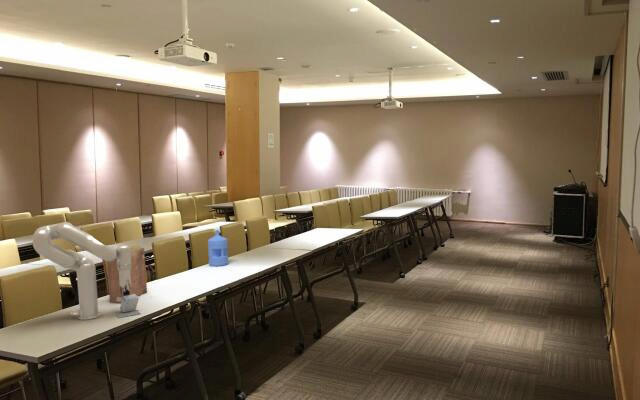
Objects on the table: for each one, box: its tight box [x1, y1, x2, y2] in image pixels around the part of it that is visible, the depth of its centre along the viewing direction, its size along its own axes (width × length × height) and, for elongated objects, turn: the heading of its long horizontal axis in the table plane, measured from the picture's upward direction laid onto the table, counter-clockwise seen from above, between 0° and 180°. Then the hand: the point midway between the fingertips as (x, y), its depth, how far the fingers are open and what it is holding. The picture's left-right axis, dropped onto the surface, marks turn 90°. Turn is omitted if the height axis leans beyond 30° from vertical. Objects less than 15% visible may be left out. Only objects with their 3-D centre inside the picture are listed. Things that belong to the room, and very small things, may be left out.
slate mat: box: [115, 309, 142, 319], centre depth 294 cm, size 12×8×1 cm, turn 121°
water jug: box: [207, 229, 229, 267], centre depth 422 cm, size 16×16×28 cm
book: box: [106, 247, 148, 304], centre depth 329 cm, size 25×9×30 cm, turn 164°
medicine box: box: [119, 294, 140, 313], centre depth 299 cm, size 8×4×9 cm, turn 141°
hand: (126, 298), depth 301 cm, fingers closed
